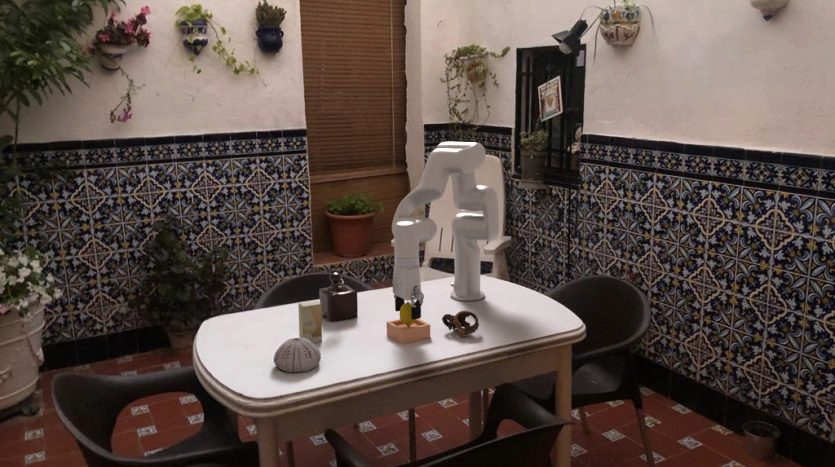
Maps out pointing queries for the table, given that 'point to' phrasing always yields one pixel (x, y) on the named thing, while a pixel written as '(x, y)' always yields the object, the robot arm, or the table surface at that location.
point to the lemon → (406, 314)
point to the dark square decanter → (338, 300)
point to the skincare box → (310, 321)
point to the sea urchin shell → (297, 355)
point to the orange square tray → (408, 331)
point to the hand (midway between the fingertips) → (408, 314)
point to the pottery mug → (461, 323)
